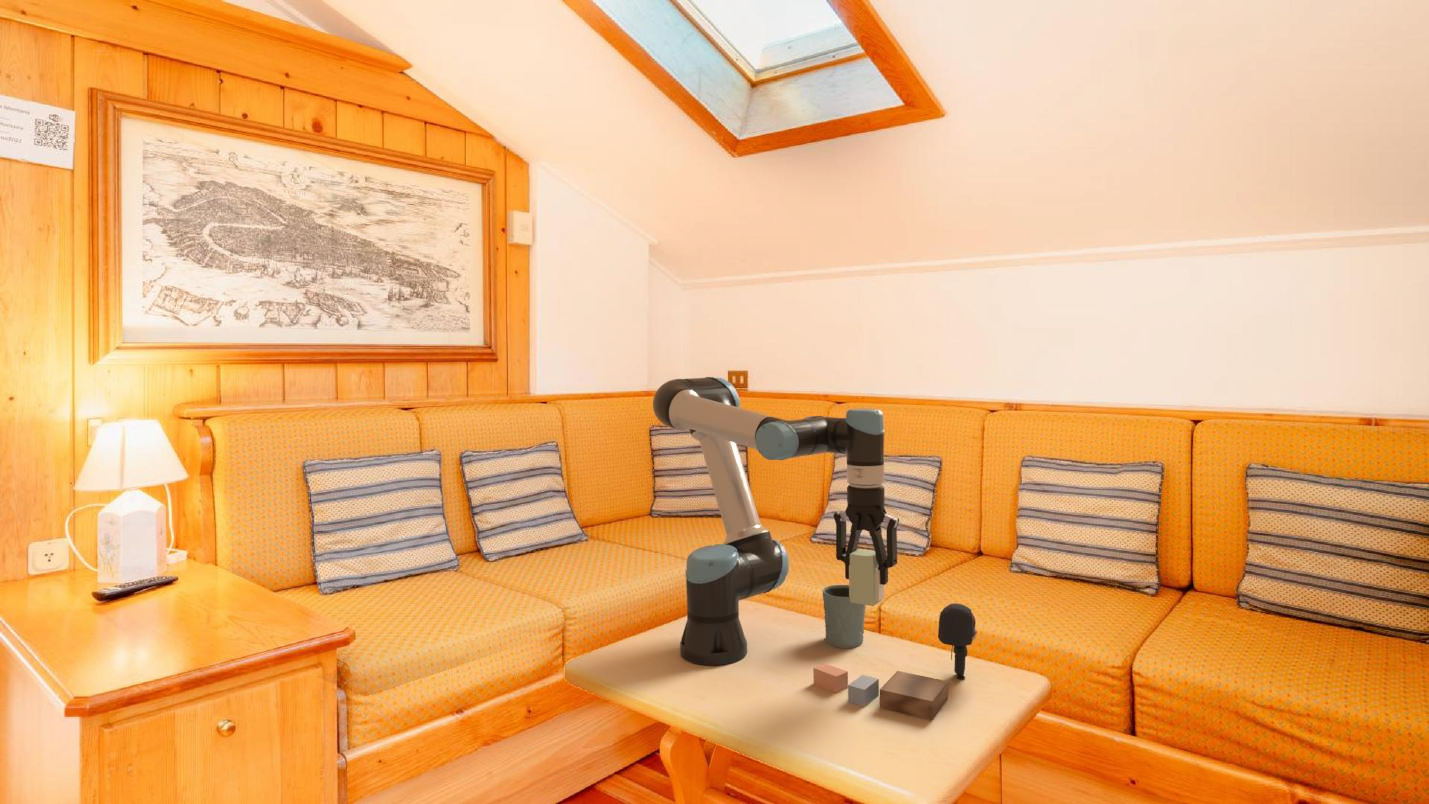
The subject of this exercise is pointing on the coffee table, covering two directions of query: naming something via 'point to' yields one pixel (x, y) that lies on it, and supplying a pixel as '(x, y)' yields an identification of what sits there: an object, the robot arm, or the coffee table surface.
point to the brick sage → (863, 577)
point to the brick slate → (863, 690)
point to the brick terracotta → (830, 677)
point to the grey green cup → (842, 618)
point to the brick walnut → (914, 695)
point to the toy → (957, 632)
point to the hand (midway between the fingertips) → (866, 597)
